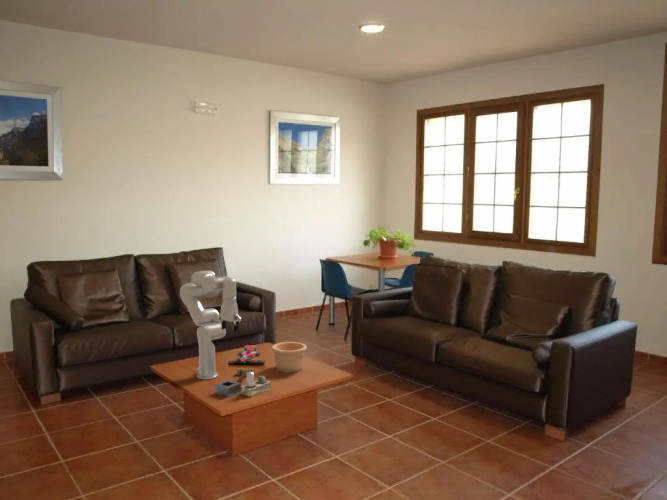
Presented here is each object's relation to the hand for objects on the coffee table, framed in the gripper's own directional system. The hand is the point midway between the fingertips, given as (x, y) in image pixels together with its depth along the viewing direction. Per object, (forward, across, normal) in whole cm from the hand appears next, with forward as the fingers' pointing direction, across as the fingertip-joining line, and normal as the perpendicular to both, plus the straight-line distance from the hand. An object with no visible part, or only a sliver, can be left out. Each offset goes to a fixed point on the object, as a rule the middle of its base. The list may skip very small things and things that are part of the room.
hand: (230, 330), depth 324 cm
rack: (+33, +16, +4) cm, 37 cm away
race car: (+34, -32, +45) cm, 65 cm away
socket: (+33, +5, -7) cm, 34 cm away
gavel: (+34, -4, +13) cm, 37 cm away
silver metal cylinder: (+33, +16, 0) cm, 37 cm away
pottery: (+34, +5, +46) cm, 57 cm away
